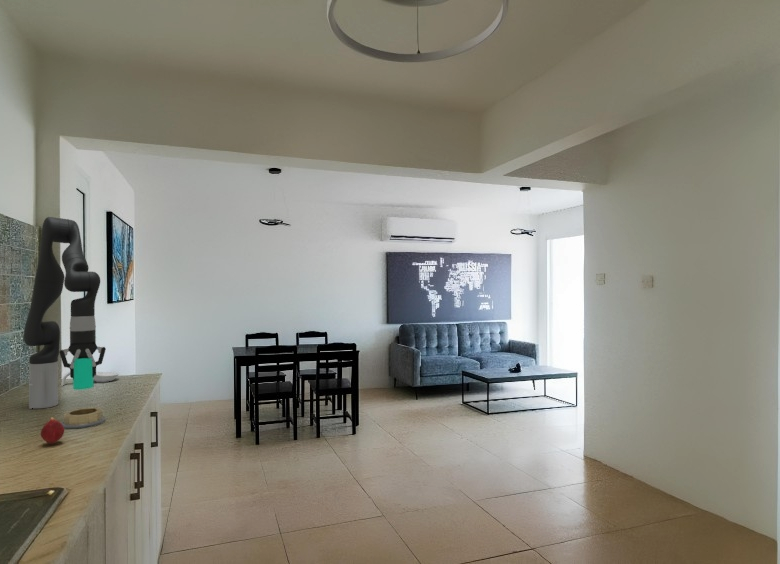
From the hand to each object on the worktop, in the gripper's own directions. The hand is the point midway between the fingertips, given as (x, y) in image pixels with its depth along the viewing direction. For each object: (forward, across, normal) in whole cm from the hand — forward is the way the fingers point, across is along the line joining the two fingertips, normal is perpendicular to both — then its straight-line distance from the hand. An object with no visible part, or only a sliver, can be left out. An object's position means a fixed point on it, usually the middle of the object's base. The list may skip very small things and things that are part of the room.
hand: (83, 377), depth 169 cm
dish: (+16, 0, 0) cm, 16 cm away
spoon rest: (+16, -3, -77) cm, 79 cm away
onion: (+16, +8, +20) cm, 27 cm away
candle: (+4, 0, 0) cm, 4 cm away
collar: (+16, 0, 0) cm, 16 cm away
